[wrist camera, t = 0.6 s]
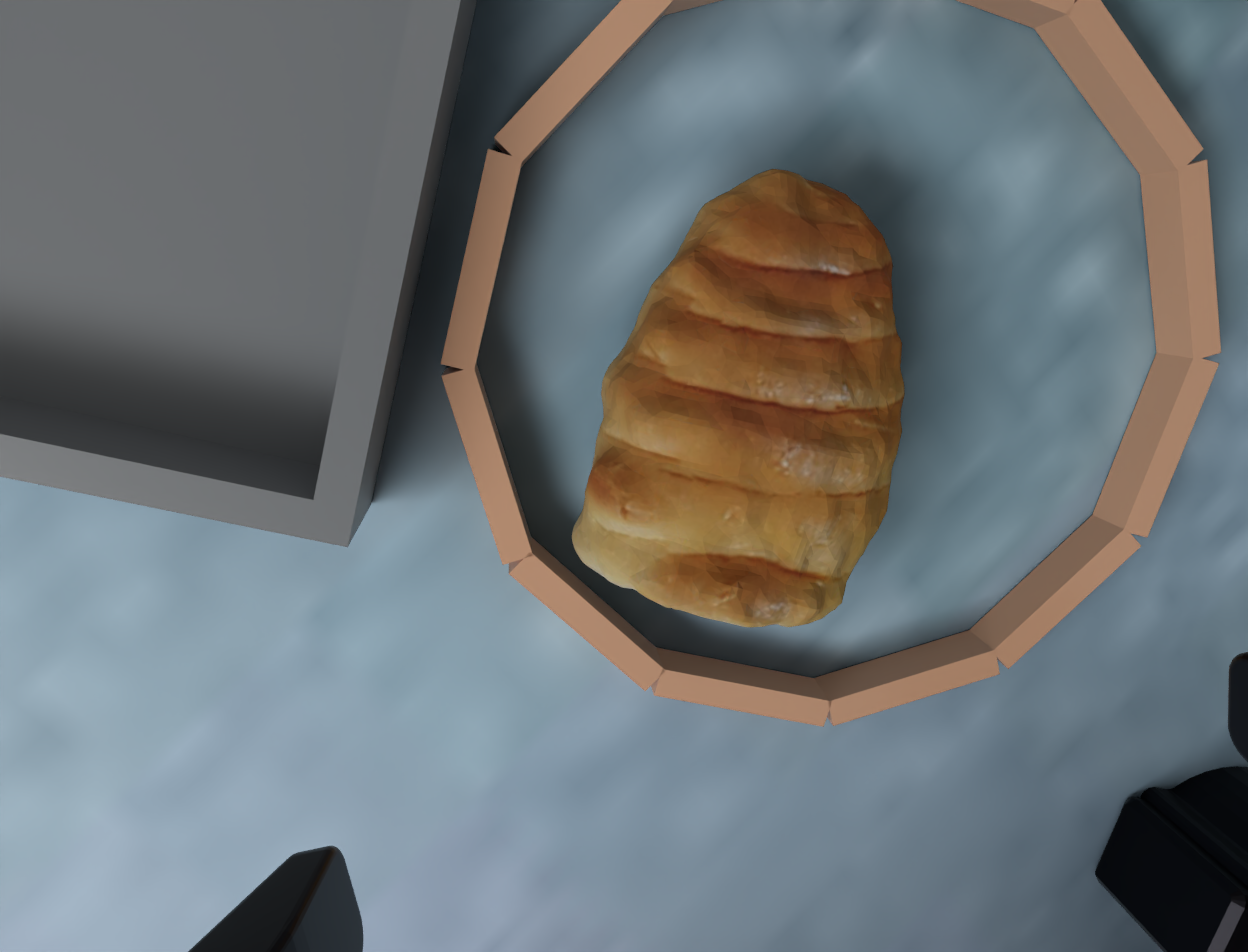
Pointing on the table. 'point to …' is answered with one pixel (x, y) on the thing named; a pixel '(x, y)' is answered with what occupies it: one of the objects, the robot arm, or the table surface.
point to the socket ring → (1129, 502)
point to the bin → (216, 245)
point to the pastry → (752, 412)
